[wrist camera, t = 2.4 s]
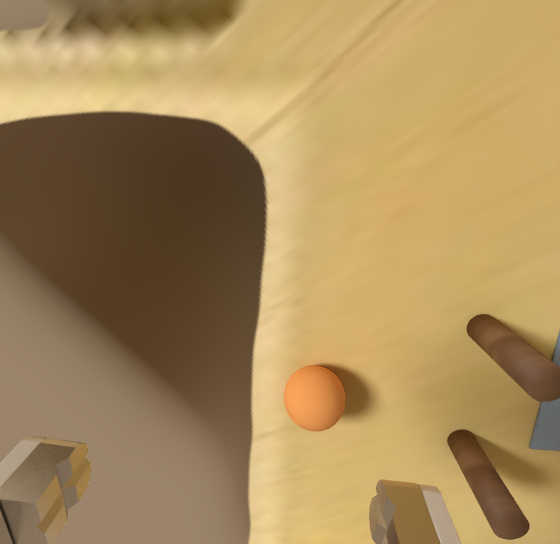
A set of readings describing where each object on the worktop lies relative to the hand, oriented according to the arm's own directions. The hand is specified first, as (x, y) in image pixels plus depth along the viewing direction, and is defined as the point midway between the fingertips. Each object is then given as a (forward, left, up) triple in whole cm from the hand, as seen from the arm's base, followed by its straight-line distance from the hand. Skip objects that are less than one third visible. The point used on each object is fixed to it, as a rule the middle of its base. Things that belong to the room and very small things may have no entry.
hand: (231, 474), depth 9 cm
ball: (-13, -3, -20) cm, 24 cm away
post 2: (-19, -19, -23) cm, 35 cm away
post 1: (-6, -19, -23) cm, 30 cm away
